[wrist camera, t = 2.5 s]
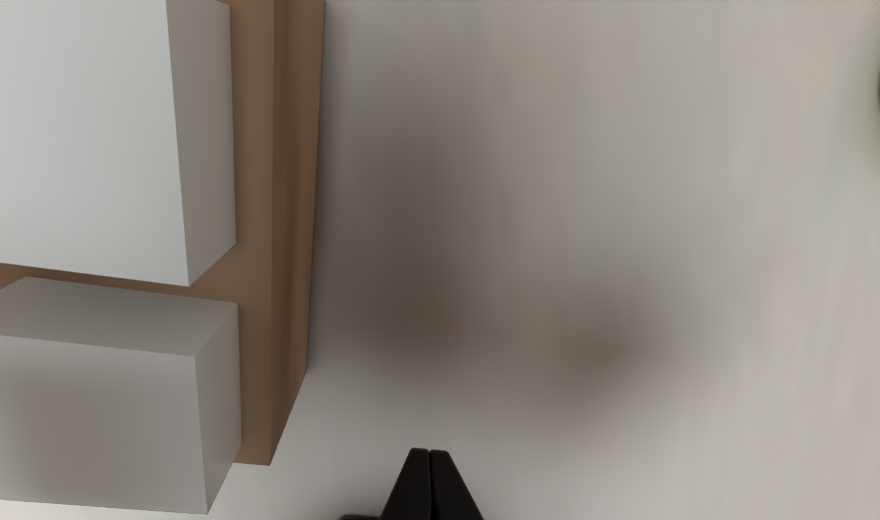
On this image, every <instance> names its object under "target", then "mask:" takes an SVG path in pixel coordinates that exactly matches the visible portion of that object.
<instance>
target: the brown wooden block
mask: <svg viewBox="0 0 880 520" xmlns="http://www.w3.org/2000/svg"><path fill="white" fill-rule="evenodd" d="M216 1H219V2H222V3H225V4H228V5H230V39H231V75H232V110H233V146H234V182H235V218H236V244H235V245H234V246H233V247H232V248H231V249H229V250H228V251H227V252H226V253H225V254H224V255H223V256H222V257H221V258H220V259H218V260H217V261H216V262H215V263H214V264H213V265H212V266H211V267H210V268H209V269H208V270H206V271H205V272H204V273H203V274H202V275H201V276H200V277H199V278H198V279H197V280H195V281H194V282H193V283H192V284H191V285H190V286H189V287H188V286H180V285H173V284H165V283H157V282H149V281H141V280H133V279H125V278H117V277H110V276H102V275H94V274H86V273H78V272H70V271H62V270H54V269H47V268H39V267H31V266H23V265H15V264H7V263H0V289H2V288H4V287H6V286H8V285H10V284H12V283H14V282H16V281H18V280H20V279H22V278H24V277H34V278H42V279H50V280H58V281H66V282H74V283H82V284H91V285H99V286H107V287H115V288H123V289H131V290H139V291H147V292H155V293H163V294H171V295H179V296H187V297H195V298H203V299H211V300H219V301H227V302H235V303H238V325H239V361H240V396H241V432H242V445H241V447H240V449H239V451H238V453H237V455H236V457H235V459H234V461H233V463H244V464H256V465H268V466H270V464H271V461H272V459H273V456H274V454H275V451H276V448H277V446H278V443H279V441H280V438H281V436H282V433H283V430H284V428H285V425H286V423H287V420H288V418H289V415H290V412H291V410H292V407H293V405H294V402H295V400H296V397H297V394H298V392H299V389H300V387H301V384H302V382H303V379H304V376H305V374H306V362H307V342H308V323H309V304H310V285H311V266H312V246H313V227H314V208H315V189H316V170H317V150H318V131H319V112H320V93H321V74H322V54H323V35H324V16H325V0H216Z"/></svg>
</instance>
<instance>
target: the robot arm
mask: <svg viewBox="0 0 880 520" xmlns="http://www.w3.org/2000/svg"><path fill="white" fill-rule="evenodd" d="M343 520H357V519H343ZM379 520H484V519H483V517H482V515H481V513H480V511H479V509H478V508H477V506H476V504H475V502H474V500H473V498H472V496H471V494H470V492H469V490H468V489H467V487H466V485H465V483H464V481H463V479H462V477H461V475H460V473H459V472H458V470H457V468H456V466H455V464H454V462H453V460H452V458H451V456H450V455H449V453H448V452H447V451H444V450H434V449H432V450H430V451H428V449H423V448H412V449H411V450H410V451H409V454H408V456H407V458H406V460H405V463H404V465H403V467H402V469H401V472H400V474H399V476H398V478H397V481H396V483H395V485H394V487H393V490H392V492H391V494H390V496H389V499H388V501H387V503H386V505H385V508H384V510H383V512H382V514H381V517H380V519H379Z"/></svg>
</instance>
